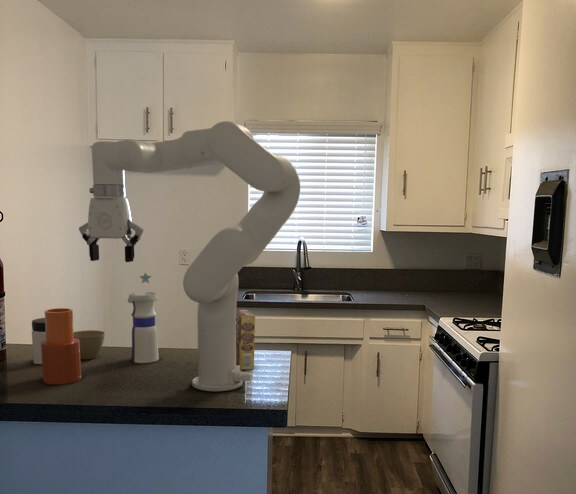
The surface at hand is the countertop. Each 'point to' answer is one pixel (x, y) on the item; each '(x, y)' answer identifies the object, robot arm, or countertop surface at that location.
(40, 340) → the jar
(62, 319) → the orange cup
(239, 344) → the candy box
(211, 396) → the countertop surface
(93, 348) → the beige bowl
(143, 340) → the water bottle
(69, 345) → the terracotta jar
